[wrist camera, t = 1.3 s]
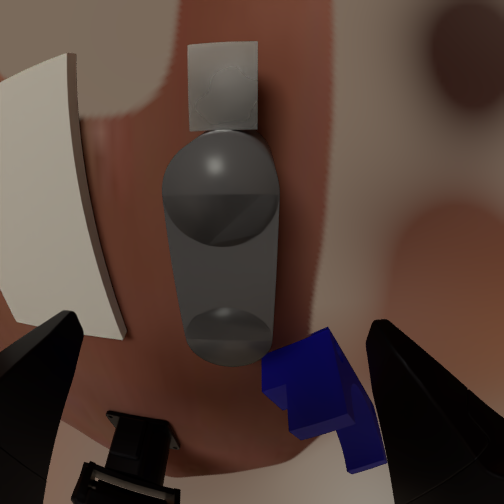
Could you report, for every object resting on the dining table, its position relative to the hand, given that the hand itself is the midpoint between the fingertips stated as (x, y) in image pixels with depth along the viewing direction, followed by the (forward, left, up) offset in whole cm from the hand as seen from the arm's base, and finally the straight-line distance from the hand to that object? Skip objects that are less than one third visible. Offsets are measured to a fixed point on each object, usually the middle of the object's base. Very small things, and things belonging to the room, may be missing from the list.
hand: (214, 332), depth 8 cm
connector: (+2, 0, -6) cm, 7 cm away
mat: (+1, +12, -6) cm, 14 cm away
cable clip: (-12, -7, -7) cm, 16 cm away
